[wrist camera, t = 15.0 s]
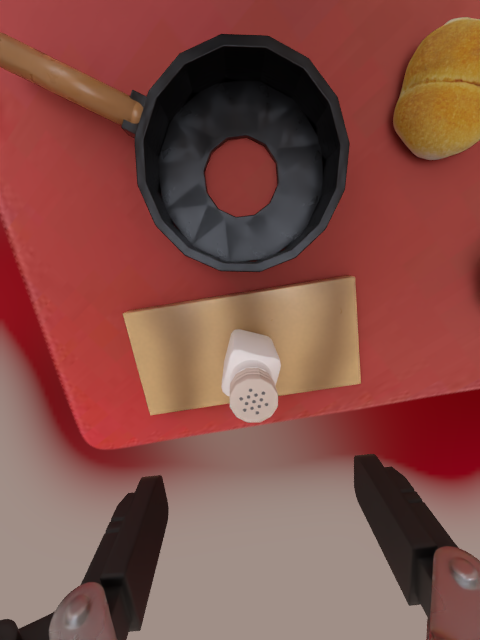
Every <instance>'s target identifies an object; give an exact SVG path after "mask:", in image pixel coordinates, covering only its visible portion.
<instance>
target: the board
mask: <svg viewBox="0 0 480 640" xmlns="http://www.w3.org/2000/svg"><path fill="white" fill-rule="evenodd" d="M123 317H124V320H125V324H126V328H127V331H128V335H129V339H130V342H131V346H132V350H133V353H134V357H135V361H136V365H137V368H138V372H139V376H140V379H141V383H142V387H143V390H144V394H145V398H146V401H147V405H148V409H149V412H150V415H156V414H162V413H169V412H176V411H182V410H189V409H196V408H202V407H209V406H215V405H222V404H229V403H230V397H229V396H227V395H226V394H225V393H224V392H223V391H222V387H221V386H222V376H223V367H224V359H225V356H226V352H227V348H228V344H229V340H230V336H231V333H232V332H233V331H234V330H237V329H240V330H245V331H249V332H253V333H257V334H261V335H265V336H268V337H269V338H271V339H272V342H273V344H274V346H275V349H276V351H277V354H278V356H279V359H280V363H281V368H280V372H279V376H278V379H277V382H276V385H275V386H276V390H277V393H278V396H282V395H288V394H295V393H301V392H308V391H315V390H321V389H328V388H334V387H341V386H348V385H354V384H361V378H360V359H359V341H358V323H357V305H356V287H355V277H354V276H349V275H347V276H341V277H334V278H328V279H322V280H316V281H309V282H303V283H297V284H291V285H285V286H278V287H272V288H266V289H260V290H253V291H247V292H241V293H235V294H228V295H222V296H216V297H210V298H204V299H197V300H191V301H185V302H179V303H172V304H166V305H160V306H154V307H148V308H141V309H135V310H129V311H127V312H125V313H123Z"/></svg>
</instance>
